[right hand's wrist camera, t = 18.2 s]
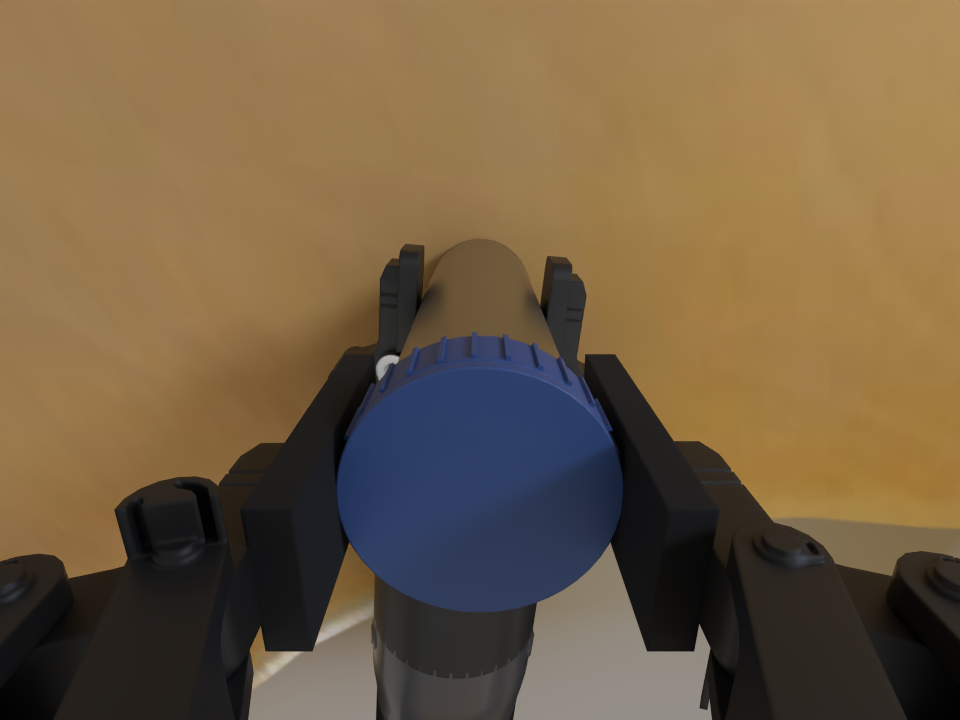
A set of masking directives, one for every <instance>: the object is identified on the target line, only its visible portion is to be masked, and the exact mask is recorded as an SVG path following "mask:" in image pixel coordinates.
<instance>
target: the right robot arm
mask: <svg viewBox="0 0 960 720" xmlns="http://www.w3.org/2000/svg"><path fill="white" fill-rule="evenodd" d="M584 380H585V382H586V384H587V386H588V388H589V390H590V392H591V395H592V397H593V399H596V398H597V399H598V401H599V403H600V405H601V407H602V409H603V411H604V413H605V415H606V417H607V419H608V422H609V424H610V426H611V428H612V430H611V431H610V432H611V434H612V437H613V439H614V441H615V443H616V445H617V447H618V449H619V451H620V458H619V459H620V462H621V465H622V471H623V478H624V489H623V500H622V509H621V516H620V519H619V522H618V526H617V529H616V531H615V533H614V535H613V537H612V539H611V541H610V542H611V545H612V548H613V551H614V554H615V557H616V560H617V563H618V566H619V569H620V572H621V575H622V578H623V581H624V584H625V587H626V590H627V593H628V596H629V599H630V602H631V604H632V607H633V611H634V614H635V617H636V619H637V623H638V625H639V628H640V631H641V634H642V637H643V640H644V643H645V646H646V649H647V651H694V649H695V643H696V638H697V632H698V627H699V624H700V626H701V628H702V630H703V633H704V635H705V637H706V639H707V641H708V643H709V645H710V648H711V649H710V654H709V659H708V664H707V669H706V674H705V679H704V685H703V690H702V695H701V702H700V708H701V709H705V710H707V708H708V703H709V698H710V706H711V714H712V720H960V559H959V558H953V557H952V556H948V555H944V554H938V553H931V552H923V551H919V552H912V553H906V554H904V555H903V556H902V557H900V558H899V559H898V560H897V563H896V566H895V569H894V572H893V575H892V576H889V575H884V574H879V573H874V572H869V571H865V570H860V569H855V568H850V567H846V566H842V565H838V564H835V563H834V560H833V558H832V557H831V556H830V554H829V553H828V552H827V550H826V549H825V548H824V546H823V545H821V544H820V543H818V542H817V541H816V540H814V539H813V538H812V537H810V536H809V535H807V534H805V533H803V532H801V531H798V530H796V529H794V528H792V527H789V526H785V525H781V524H777V523H774V522H773V521H772V520H771V518H770V517H769V516H768V515H767V513H766V512H765V511H764V510H763V508H762V507H761V506H760V505H759V503H758V502H757V501H756V500H755V498H754V497H753V496H752V495H751V493H750V492H749V491H748V490H747V488H746V487H745V486H744V485H741V481H740V480H739V478H738V477H737V476H736V475H735V473H734V472H731V468H730V467H729V466H728V465H727V463H726V462H725V461H724V460H723V458H722V457H721V456H720V455H719V454H718V453H717V452H715V451H713V450H712V449H710V448H709V447H707V446H705V445H704V444H702V443H701V442H699V441H673V439H672V438H671V436H670V435H669V433H668V432H667V430H666V429H665V428H664V426H663V425H662V423H661V422H660V420H659V419H658V417H657V416H656V414H655V413H654V411H653V410H652V408H651V407H650V405H649V404H648V402H647V401H646V399H645V398H644V396H643V395H642V394H641V392H640V391H639V389H638V388H637V386H636V385H635V383H634V382H633V380H632V379H631V377H630V376H629V374H628V373H627V371H626V370H625V368H624V367H623V365H622V364H621V363H620V361H619V360H618V358H617V357H616V355H615V354H585V368H584ZM372 383H374V384H375V385H376V373H375V359H374V354H345V355H344V356H343V358H342V359H341V361H340V362H339V363H338V365H337V366H336V368H335V369H334V371H333V372H332V374H331V375H330V377H329V378H328V380H327V381H326V383H325V384H324V386H323V387H322V389H321V390H320V392H319V393H318V394H317V396H316V397H315V399H314V400H313V402H312V403H311V405H310V406H309V408H308V409H307V411H306V412H305V414H304V415H303V417H302V418H301V420H300V421H299V423H298V424H297V426H296V427H295V428H294V430H293V431H292V433H291V434H290V436H289V437H288V439H287V440H286V442H285V443H260V444H259V445H257V446H256V447H254V448H253V449H251V450H249V451H248V452H246V453H245V454H243V455H242V456H240V458H239V459H238V460H237V461H236V463H235V464H234V465H233V466H232V468H231V469H230V470H229V474H226V475H225V477H224V478H223V479H222V480H221V482H220V483H219V487H218V486H217V485H216V484H215V483H214V482H212V481H211V480H210V479H205V478H201V477H196V476H195V477H177V478H172V479H168V480H163V481H159V482H156V483H154V484H151V485H149V486H146V487H144V488H141V489H139V490H138V491H136V492H134V493H133V494H131V495H130V496H128V497H126V498H125V499H124V500H123V501H122V502H121V503H120V504H119V505H118V506H117V507H116V509H115V514H116V518H117V521H118V525H119V528H120V532H121V536H122V539H123V543H124V546H125V550H126V554H127V557H128V559H127V562H126V564H125V566H123V567H119V568H116V569H112V570H107V571H102V572H98V573H93V574H88V575H83V576H79V577H74V578H69V579H68V576H67V573H66V570H65V567H64V564H63V562H62V561H61V560H59V559H58V558H57V557H55V556H53V555H45V554H34V555H26V556H19V557H15V558H10V559H8V560H6V561H5V560H3V561H1V562H0V720H248V715H249V707H250V699H251V690H252V682H253V665H252V659H251V654H250V648H251V645H252V643H253V641H254V639H255V637H256V635H257V632H258V630H259V628H260V626H261V629H262V634H263V640H264V645H265V651H313V648H314V645H315V642H316V639H317V636H318V633H319V630H320V627H321V624H322V622H323V619H324V616H325V613H326V610H327V607H328V604H329V601H330V598H331V595H332V592H333V589H334V586H335V583H336V580H337V577H338V574H339V571H340V568H341V565H342V562H343V559H344V556H345V553H346V550H347V547H348V544H349V540H348V538H347V536H346V534H345V531H344V529H343V526H342V523H341V521H340V517H339V511H338V503H337V493H336V477H337V469H338V465H339V461H340V457H341V454H342V452H343V449H344V447H345V445H346V442H347V440H344V436H345V434H346V432H347V430H348V428H349V426H350V424H351V422H352V419H353V417H354V415H355V413H356V411H357V409H358V407H360V406H361V404H362V402H363V400H364V398H365V396H366V393H367V391H368V389H369V387H370V385H371V384H372Z"/></svg>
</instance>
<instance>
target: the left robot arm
mask: <svg viewBox="0 0 960 720" xmlns="http://www.w3.org/2000/svg"><path fill="white" fill-rule="evenodd" d="M423 269H424V246H423V245H412V244H405V245H404V246H403V248H402V249H401V251H400V256H399V259H393V258H392V259H391V260H390V261H389V263H388V264H387V265H386V267H385V269H384V271H383V273H382V276H381V278H380V308H379V342H377V343H376V344H374V345H371V346H367V347H363V348H362V347H358V346H355V347H351V348H349V349H347V350H346V351H345V353H344V354H343V356H344V355H345V354H374V359H375V373H376V384H377V383H378V382H379V380H380V379H381V378H382V377H383V376H384V374H385V373H386V371H387V368H388V366H389V365H390V364H391V363H393V364H394V365H396V364H397V363H398V360H399V358H400V355H401V353H402V350H403V348H404V345H405V343H406V340H407V338H408V335H409V332H410V330H411V327H412V325H413V322H414V320H415V317H416V315H417V312H418V310H419V307H420V305H421V302H422V289H423ZM585 301H586V292H585V288H584V284H583V281H582V280H581V279H580V278H579V276H578V275H577V274H572V264H571V263H570V262H569V260H568V259H567V258H565V257H554V256H548V257H547V260H546V266H545V273H544V281H543V288H542V296H541V304H540V308H541V310H542V313H543V315H544V318H545V320H546V323H547V325H548V328H549V330H550V333H551V335H552V338H553V340H554V343H555V345H556V348H557V351H558V353H559V356H560V357H561V358H563V360H564V362H565V364H566V367H568V368H569V369H570V370H571V371H572V372H573V373H574V374H575V375H576V376H577V377H580V376H582V377H583V378H584V368H585V364H584V363H582V362H580V361H578V360H577V351H578V345H579V339H580V332H581V326H582V320H583V314H584V308H585ZM343 356H342V357H341V358H340V360H339V361H338V363H339V362H340V361H341V359H342V358H343ZM338 363H337V364H336V366H337V365H338ZM336 366H335V367H334V369H335V368H336ZM334 369H333V370H332V372H333V371H334ZM332 372H331V373H330V375H331V374H332ZM330 375H329V377H330ZM329 377H328V378H329ZM536 605H537V602H536V603H534V604H531V605H527V606H523V607H520V608H516V609H510V610H504V611H497V612H463V611H456V610H448V609H444V608H440V607H436V606H432V605H429V604H426V603H424V602H421V601H418V600H415V599H413V598H411V597H409V596H407V595H405V594H403V593H401V592H399V591H398V590H396V589H395V588H393V587H392V586H390V585H388V584H387V583H386V582H384V581H383V580H382V579H381V578H379V577H378V576H377V575H376V574H375V594H374V618H373V621H372V624H371V641H372V643H373V660H374V670H375V676H376V681H377V710H376V720H513V716H514V710H515V703H516V699H517V695H518V693H519V690H520V687H521V684H522V681H523V678H524V675H525V671H526V666H527V661H528V657H529V656H530V654H531V649H532V644H533V638H534V633H533V624H534V617H535V611H536Z"/></svg>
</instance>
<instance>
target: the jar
mask: <svg viewBox="0 0 960 720" xmlns="http://www.w3.org/2000/svg"><path fill="white" fill-rule="evenodd" d="M472 332H477V336H495V337H501V338H502V337H503V334H506V335H508V336H509V339H513V340H516V341H519V342H523V343H526V344H529V345H532V343H533V342H534V343H536V344H538V347H539V349H540V350H542V351H545V352H546V353H548V354H549V355H551V356H553V357H554V358H556V359H558V358H559V357H560V356H559V353H558V351H557V348H556V345H555V343H554V340H553V338H552V335H551V333H550V330H549V328H548V325H547V323H546V320H545V318H544V315H543V313H542V310H541V308H540V305H539V303H538V300H537V298H536V295H535V293H534V290H533V288H532V285H531V282H530V280H529V277H528V275H527V272H526V270H525V268H524V266H523V264H522V262H521V261H520V259H519V258H518V257H517V256H516V254H515V253H514V252H512V251H511V250H510V249H509V248H507V247H506V246H504V245H502V244H500V243H497V242H495V241H491V240H484V239H476V240H469V241H465V242H462V243H460V244H458V245H456V246H454V247H453V248H451V249H450V250H449V251H447V252H446V253H445V254H444V255H443V257H442V258H441V259H440V260H439V262H438V264H437V265H436V267H435V270H434V272H433V275H432V277H431V280H430V282H429V285H428V287H427V290H426V292H425V295H424V297H423V300H422V302H421V305H420V307H419V310H418V312H417V315H416V317H415V320H414V322H413V325H412V327H411V330H410V332H409V335H408V338H407V340H406V343H405V345H404V348H403V350H402V353H401V355H400V358H399V360H398V362H400V361H401V360H403V359H404V358H406V357H407V356H408V355H410V354H411V353H412V350H413V348H415V347H418V348H419V350H420V349H422V348H424V347H426V346H428V345H431V344H434V343H437V342H440V341H441V337H445V336H446V337H447V340H448V339H453V338H458V337H467V336H472Z"/></svg>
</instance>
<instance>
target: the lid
mask: <svg viewBox="0 0 960 720" xmlns="http://www.w3.org/2000/svg"><path fill="white" fill-rule="evenodd" d="M611 430H612V428H611V426H610V424H609V422H608V419H607V417H606V415H605V413H604V411H603V409H602V407H601V405H600V403H599V401H598V399H597V398H596V399H593V397H592V395H591V392H590V390H589V388H588V386H587V384H586V382H585V380H584V378H583V377H582V376H580V377H577V376H576V375H575V374H574V373H573V372H572V371H571V370H570V369H569V368H568V367H566V364H565V362H564V360H563V358H561V357H559V358H558V359H556V358H554V357H553V356H551V355H549V354H548V353H546V352H545V351H542V350H540V349H539V347H538V344H536V343H534V342H533V343H532V345H529V344H526V343H523V342H519V341H516V340H513V339H509V336H508V335H506V334H503V337H502V338H501V337H495V336H477V332H472V336H467V337H458V338H453V339H448V340H447V337H446V336H445V337H441V341H440V342H437V343H434V344H431V345H428V346H426V347H424V348H422V349H420V350H419V348H418V347H415V348H413V350H412V353H411V354H410V355H408V356H407V357H406V358H404V359H403V360H401V361H400V362H398V363H397V364H396V365H394V364H393V363H391V364H390V365H389V366H388V368H387V371H386V373H385V374H384V376H383V377H382V378H381V379H380V380H379V382H378V383H377V384H376V385H375V384H374V383H372V384H371V385H370V387H369V389H368V391H367V393H366V396H365V398H364V400H363V402H362V404H361V406H360V407H358V409H357V411H356V413H355V415H354V417H353V419H352V422H351V424H350V426H349V428H348V430H347V432H346V434H345V436H344V440H347V442H346V445H345V447H344V449H343V452H342V454H341V457H340V461H339V465H338V469H337V477H336V493H337V503H338V511H339V517H340V521H341V523H342V526H343V529H344V531H345V534H346V536H347V538H348V540H349V542H350V543H351V545H352V547H353V549H354V550H355V551H356V553H357V554H358V556H359V557H360V558H361V560H362V561H363V562H364V563H365V564H366V565H367V566H368V567H369V568H370V569H371V570H372V571H373V573H375V574H376V575H377V576H378V577H379V578H381V579H382V580H383V581H384V582H386V583H387V584H388V585H390V586H392V587H393V588H395V589H396V590H398V591H399V592H401V593H403V594H405V595H407V596H409V597H411V598H413V599H415V600H418V601H421V602H424V603H426V604H429V605H432V606H436V607H440V608H444V609H448V610H456V611H463V612H497V611H504V610H510V609H516V608H520V607H523V606H527V605H531V604H534V603H536V602H539V601H541V600H544V599H546V598H549V597H551V596H553V595H554V594H556V593H558V592H560V591H562V590H564V589H565V588H567V587H568V586H570V585H571V584H573V583H574V582H575V581H577V580H578V579H579V578H580V577H581V576H583V575H584V574H585V573H586V572H587V571H588V570H589V569H590V568H591V567H592V566H593V565H594V564H595V563H596V562H597V560H598V559H599V558H600V557H601V555H602V554H603V552H604V551H605V549H606V548H607V546H608V545H609V543H610V541H611V539H612V537H613V535H614V533H615V531H616V529H617V526H618V522H619V519H620V516H621V509H622V500H623V489H624V478H623V471H622V465H621V462H620V459H619V458H620V451H619V449H618V447H617V445H616V443H615V441H614V439H613V437H612V434H611V432H610V431H611Z"/></svg>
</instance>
